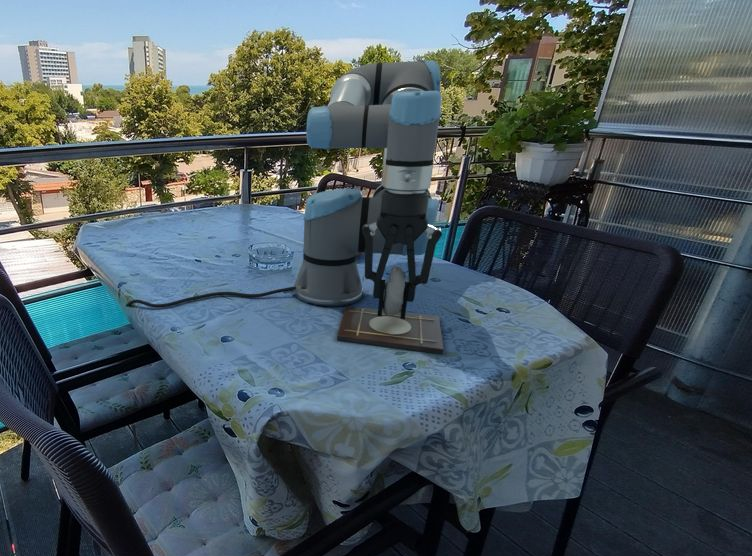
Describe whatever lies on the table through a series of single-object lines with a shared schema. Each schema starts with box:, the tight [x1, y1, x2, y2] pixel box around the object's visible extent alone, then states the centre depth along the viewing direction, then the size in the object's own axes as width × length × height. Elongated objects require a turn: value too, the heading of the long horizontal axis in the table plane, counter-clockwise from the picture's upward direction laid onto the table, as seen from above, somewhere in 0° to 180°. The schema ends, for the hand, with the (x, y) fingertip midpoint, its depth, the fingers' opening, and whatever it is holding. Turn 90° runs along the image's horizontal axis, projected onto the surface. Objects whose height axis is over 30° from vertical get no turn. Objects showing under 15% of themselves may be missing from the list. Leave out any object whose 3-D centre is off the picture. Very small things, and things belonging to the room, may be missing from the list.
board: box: [336, 305, 444, 355], centre depth 89 cm, size 18×14×1 cm
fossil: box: [382, 266, 406, 316], centre depth 86 cm, size 6×4×10 cm, turn 167°
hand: (391, 314), depth 88 cm, fingers closed on fossil, 3 cm apart
